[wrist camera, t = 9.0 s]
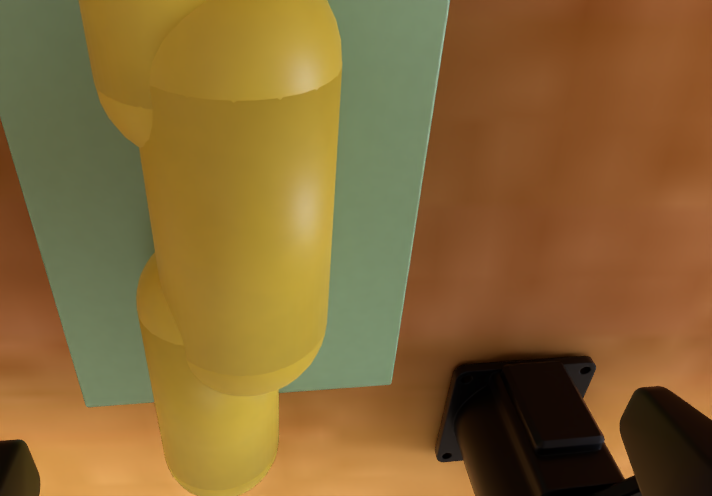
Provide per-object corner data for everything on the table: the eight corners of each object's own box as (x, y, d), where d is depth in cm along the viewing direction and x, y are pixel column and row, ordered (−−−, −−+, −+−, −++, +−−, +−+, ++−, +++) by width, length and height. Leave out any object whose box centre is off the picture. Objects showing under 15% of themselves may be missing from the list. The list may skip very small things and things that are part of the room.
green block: (365, 282, 23) (391, 385, 19) (112, 293, 22) (85, 408, 18) (421, -277, 14) (498, -298, 10) (-23, -324, 12) (-148, -372, 8)
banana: (324, 436, 19) (309, 549, 17) (190, 422, 20) (152, 531, 17) (384, -500, 8) (369, -669, 5) (57, -526, 8) (-144, -707, 5)
